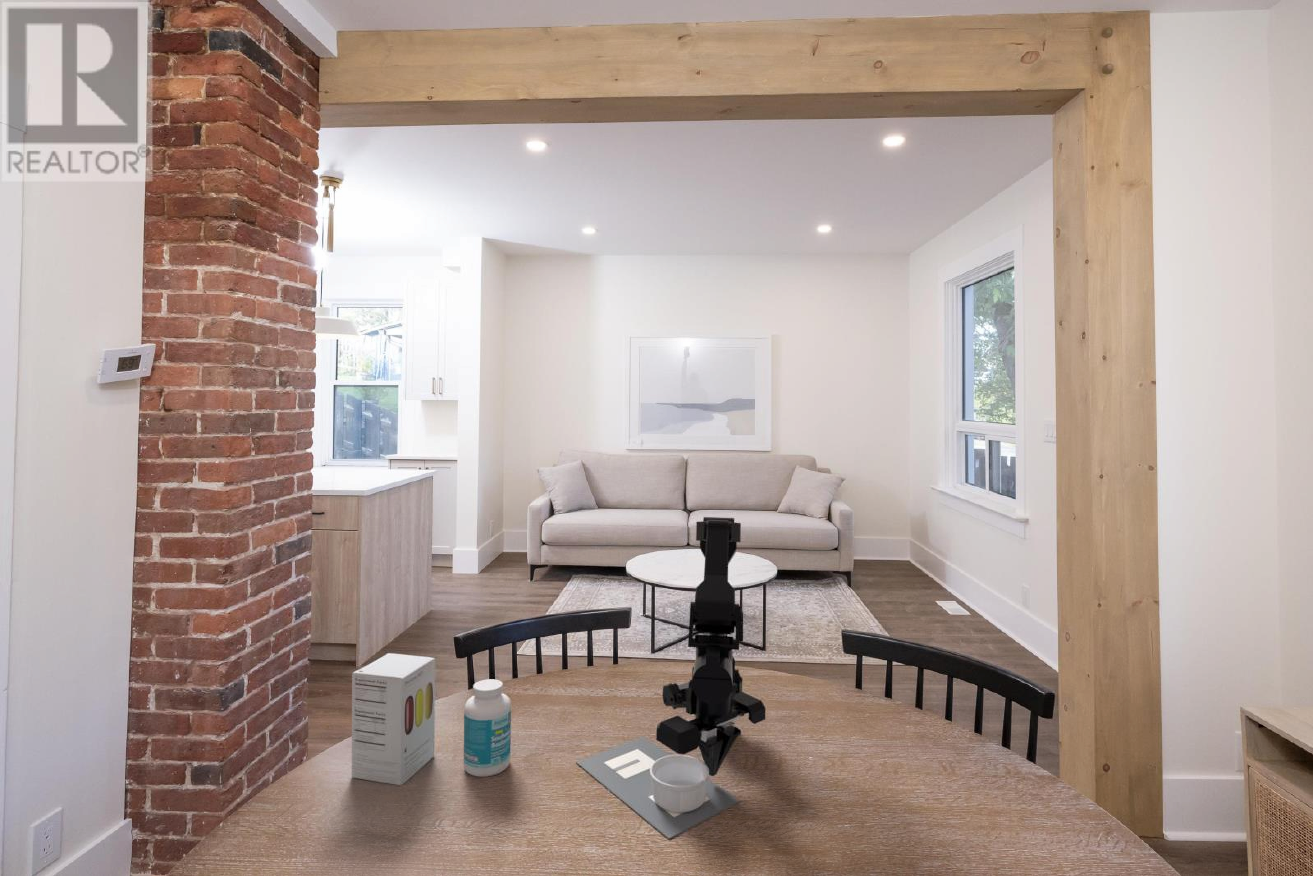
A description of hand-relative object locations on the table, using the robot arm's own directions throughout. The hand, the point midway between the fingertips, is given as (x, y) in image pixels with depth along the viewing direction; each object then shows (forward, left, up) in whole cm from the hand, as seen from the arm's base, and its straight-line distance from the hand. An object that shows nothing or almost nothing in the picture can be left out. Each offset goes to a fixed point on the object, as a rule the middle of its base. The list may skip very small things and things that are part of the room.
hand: (712, 774), depth 99 cm
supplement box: (+38, -35, -2) cm, 52 cm away
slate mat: (+7, -6, -2) cm, 9 cm away
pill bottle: (+26, -26, -2) cm, 37 cm away
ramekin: (+7, 0, -2) cm, 7 cm away
